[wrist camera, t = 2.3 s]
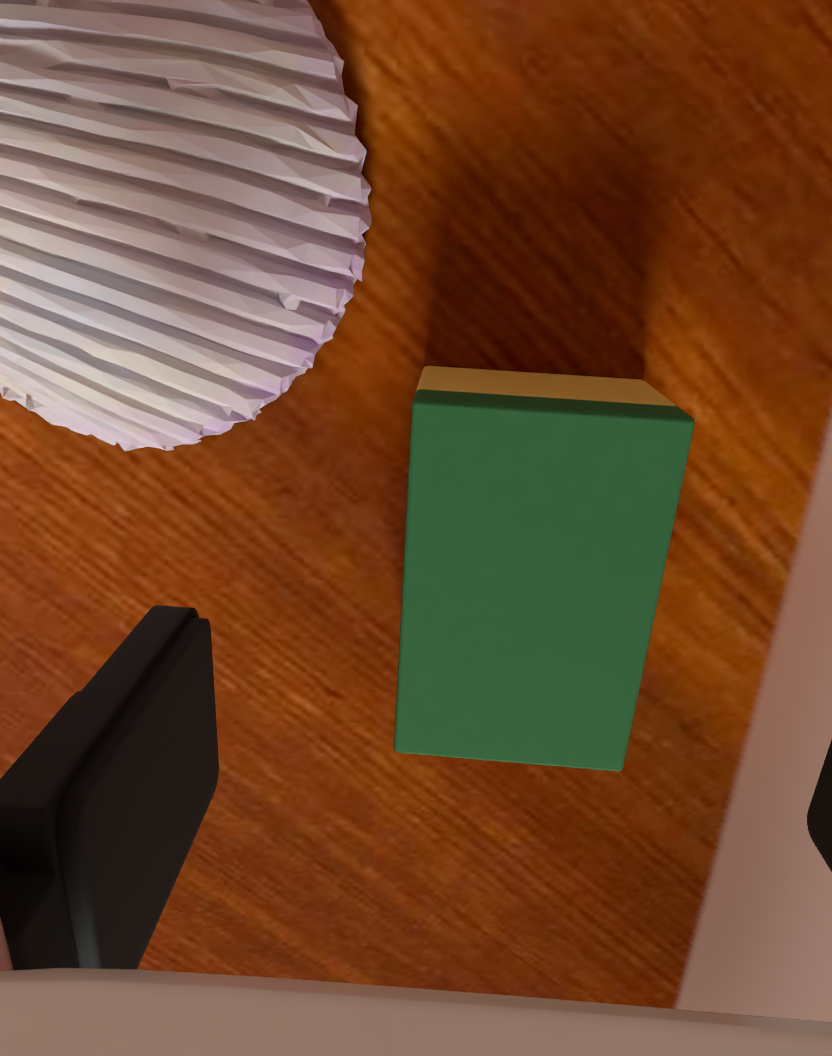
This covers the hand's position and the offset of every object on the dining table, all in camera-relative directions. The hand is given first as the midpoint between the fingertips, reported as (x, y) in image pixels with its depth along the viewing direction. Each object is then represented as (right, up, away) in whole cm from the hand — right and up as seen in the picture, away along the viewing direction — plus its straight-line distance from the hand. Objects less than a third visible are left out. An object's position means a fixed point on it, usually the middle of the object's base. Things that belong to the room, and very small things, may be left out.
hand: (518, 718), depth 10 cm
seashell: (-7, +10, +4) cm, 13 cm away
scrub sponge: (+1, +3, +6) cm, 6 cm away
